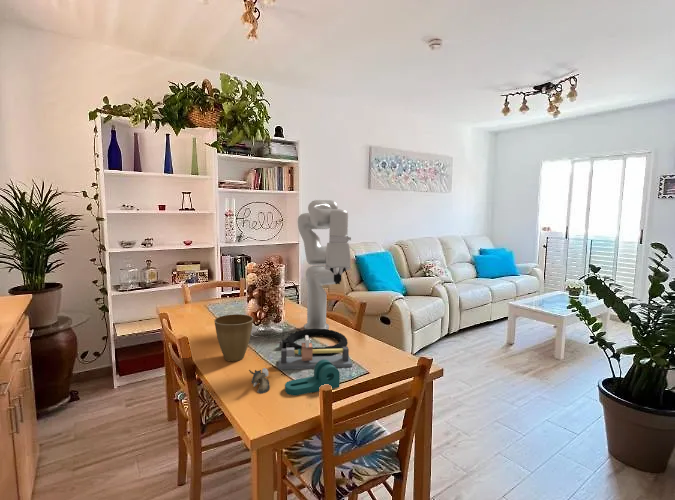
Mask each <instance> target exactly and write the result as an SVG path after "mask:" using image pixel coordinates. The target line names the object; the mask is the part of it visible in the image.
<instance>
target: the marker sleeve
mask: <svg viewBox="0 0 675 500" xmlns="http://www.w3.org/2000/svg"><path fill="white" fill-rule="evenodd" d="M309 337H310V336H309ZM309 337H308V335H305V337H304V342H301V346H302V354H301V356H300V357H302V361H312V357H313V356H312V355H313V348H314V347H313V343H312V342H310V338H309Z"/></svg>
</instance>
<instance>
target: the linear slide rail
mask: <svg viewBox="0 0 675 500" xmlns="http://www.w3.org/2000/svg"><path fill="white" fill-rule="evenodd" d="M280 350H281V351H280V357H279V358H278V370H295V369H298V370H301V369H302V368H303V369H314V367H315V365H316V364H317V363H318V362H319V361H320V360H324V359H325V360H328V361H330V362H331V363H332V364H333V366H335V367H336V368H344V367H345V368H352V367H353V363H352V361H351V358H350V355H349V351H350V349H349V347H348V346H346V347H342V348H340V349H313V354H315V353H335V354H338V353H339V354H341V355H326V356H312V361H302V356H295V355H301V354H302V350H301V349H298V350H294V348H281V349H280ZM303 369H302V370H303Z"/></svg>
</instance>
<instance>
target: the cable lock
mask: <svg viewBox="0 0 675 500" xmlns="http://www.w3.org/2000/svg"><path fill="white" fill-rule="evenodd" d="M305 335H308V337H324V338H330V339H333V340H337V341H338V342H337V343H336V344H334V345H328V346H322V347H319V346H318V347H313V349H340V348H342V347H348V339H347V338H346V336H345V335H344V334H343V333H341V332H339V331H335V330H332V329H304V328H303V329H300V330H297V331H294V332H292V333H289V334H288V336H287V337H285V338H284V339H281V340H280V341H279V348H280V350H281V348H294V350H298V349H301V350H302V344H301V345H300V344H297V343H296V342H295V341H297V340H299V339H302V338H305ZM333 355H336V353H315V354H313V355H312V357H319V356H333Z"/></svg>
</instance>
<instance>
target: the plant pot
mask: <svg viewBox="0 0 675 500" xmlns="http://www.w3.org/2000/svg"><path fill="white" fill-rule="evenodd" d="M213 320H214V326H215V332H216V336H217V341H218V345H219V347H220V350H221V353H222V356H223V358H224V360H225V361H227V362H238V361H241V360H243V359H244V357H245V355H246V352H247V349H248V346H249V343H250V338H251V335H252V331H253V330H252V329H253V326H254V325H253V324H254V317H253V316H251V315H248V314H243V313H242V314H241V313H239V314H235V313H234V314H233V313H232V314H225V315H221V316H218V317H216V318H215V319H213Z"/></svg>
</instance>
